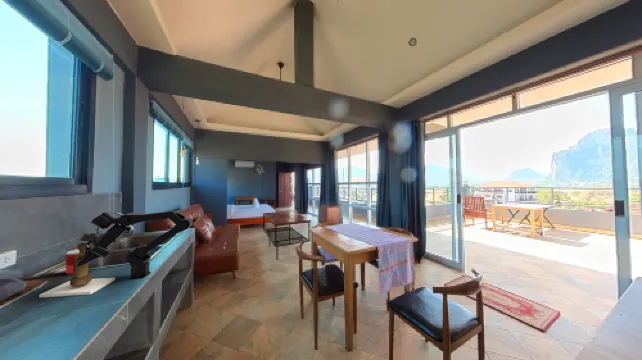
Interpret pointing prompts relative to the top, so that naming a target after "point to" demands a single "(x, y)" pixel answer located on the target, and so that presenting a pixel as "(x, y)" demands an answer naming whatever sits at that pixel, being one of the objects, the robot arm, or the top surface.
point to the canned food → (71, 261)
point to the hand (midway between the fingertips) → (76, 264)
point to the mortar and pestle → (81, 268)
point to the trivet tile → (77, 288)
